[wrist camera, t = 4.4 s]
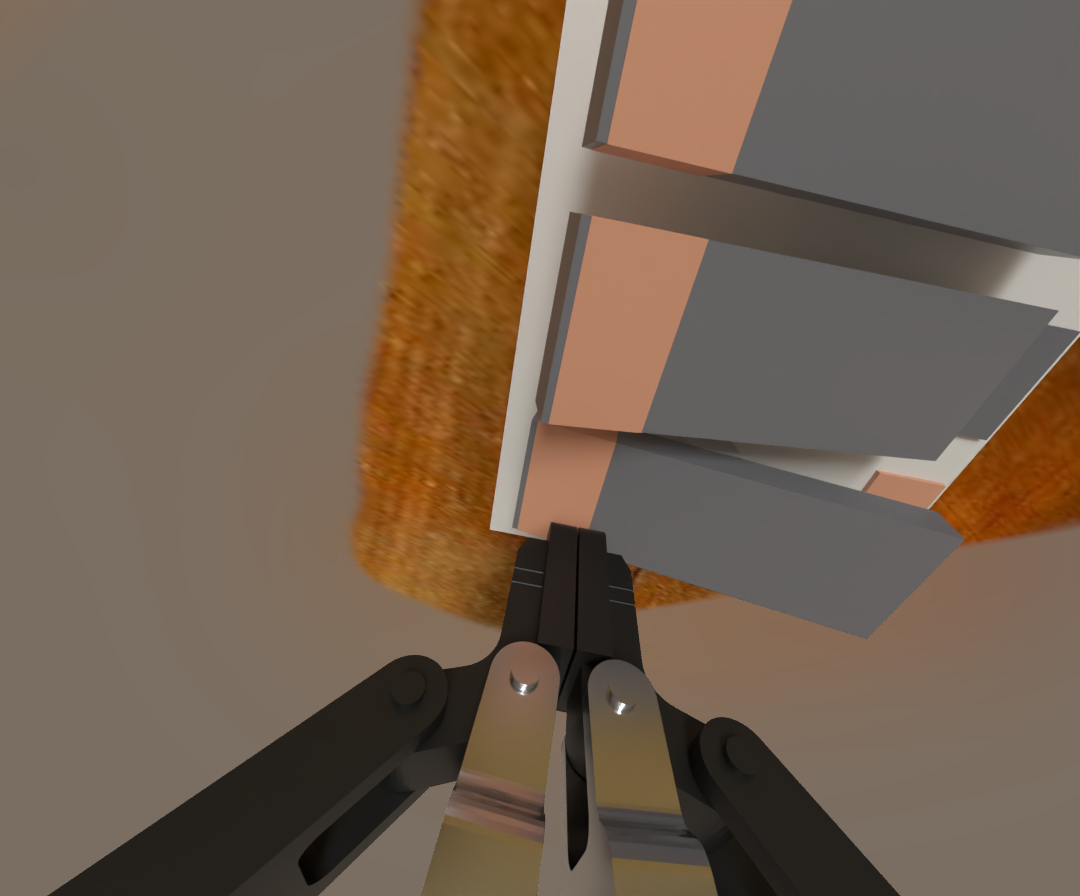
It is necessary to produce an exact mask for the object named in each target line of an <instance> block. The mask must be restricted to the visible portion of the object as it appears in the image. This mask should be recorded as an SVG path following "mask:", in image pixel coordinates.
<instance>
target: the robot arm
mask: <svg viewBox="0 0 1080 896" xmlns="http://www.w3.org/2000/svg"><path fill="white" fill-rule="evenodd" d="M634 605H635V601H634V593H633V585H632V576H631V571H630V569H629V567H628V566H627V564H626V562H625V561H624V559H623V557H622V555H618V554H613V553H608V552H607V545H606V534H605V532H601V531H596V530H591V529H586V528H581V527H578V529H577V527H575V526H570V525H565V524H560V523H555V522H551V523H550V527H549V531H548V535H547V539H546V540H541V539H536V538H531V537H528V539H527V540H526V541H525V542H524V543H523V545H522V546H521V547H520V548H519V549H518V554H517V558H516V563H515V568H514V573H513V578H512V583H511V588H510V593H509V598H508V603H507V608H506V612H505V617H504V622H503V627H502V632H501V636H500V640H499V642H498V644H497V646H496V647H495V649H494V650H493V651H492V652H491V653H490V654H489V655H488V656H487V657H486V658H484V659H483V660H481V661H479V662H477V663H475V664H472V665H468V666H463V667H456V668H449V669H442V668H441V666H440V665H439V664H438V663H437V662H435V661H434V660H432V659H430V658H428V657H425V656H420V655H409V656H404V657H401V658H399V659H396V660H394V661H392V662H391V663H389V664H387V665H386V666H385V667H383V668H381V669H380V670H379V671H377V672H376V673H374V674H373V675H371V676H370V677H368V678H367V679H365V680H364V681H362V682H361V683H359V684H358V685H356V686H355V687H354V688H352V689H351V690H349V691H348V692H346V693H345V694H343V695H342V696H340V697H339V698H337V699H336V700H334V701H333V702H332V703H330V704H329V705H327V706H326V707H324V708H323V709H321V710H320V711H318V712H317V713H316V714H314V715H312V716H311V717H310V718H308V719H307V720H305V721H304V722H302V723H301V724H299V725H298V726H296V727H295V728H293V729H292V730H290V731H289V732H287V733H286V734H284V735H283V736H282V737H280V738H279V739H277V740H276V741H274V742H273V743H271V744H270V745H268V746H267V747H265V748H264V749H262V750H261V751H260V752H258V753H257V754H255V755H254V756H252V757H251V758H249V759H248V760H246V761H245V762H244V763H242V764H241V765H239V766H238V767H236V768H235V769H233V770H232V771H230V772H229V773H227V774H226V775H224V776H223V777H221V778H220V779H218V780H217V781H215V782H214V783H212V784H211V785H210V786H208V787H207V788H205V789H204V790H202V791H201V792H199V793H198V794H196V795H195V796H193V797H192V798H190V799H189V800H188V801H186V802H185V803H183V804H182V805H180V806H179V807H177V808H176V809H174V810H173V811H171V812H170V813H169V814H167V815H166V816H164V817H163V818H161V819H160V820H158V821H157V822H156V823H154V824H152V825H151V826H149V827H148V828H146V829H145V830H143V831H142V832H141V833H139V834H138V835H136V836H135V837H133V838H132V839H130V840H129V841H127V842H126V843H124V844H123V845H121V846H120V847H118V848H117V849H116V850H114V851H113V852H111V853H110V854H108V855H107V856H105V857H104V858H102V859H101V860H99V861H98V862H96V863H95V864H93V865H92V866H91V867H89V868H88V869H86V870H85V871H83V872H82V873H80V874H79V875H77V876H76V877H74V878H73V879H71V880H70V881H69V882H67V883H66V884H64V885H63V886H61V887H60V888H58V889H57V890H55V891H54V892H52V893H51V894H50V895H48V896H318V895H319V894H320V893H321V892H322V891H323V890H324V889H325V888H326V887H327V886H329V884H331V883H332V882H333V881H334V880H335V878H337V877H338V876H339V875H340V874H341V873H342V872H343V871H344V870H345V869H346V868H347V867H348V866H349V865H350V864H351V863H352V862H353V861H354V860H355V859H356V858H357V857H358V856H359V855H360V854H361V853H362V852H363V851H364V850H365V849H367V848H368V847H369V846H370V845H371V844H372V843H373V842H374V841H375V840H376V839H377V838H378V837H379V836H380V835H381V834H382V833H383V832H384V831H385V830H386V829H387V828H388V827H389V826H390V825H391V824H392V823H393V822H394V821H395V820H396V819H397V818H398V817H399V816H400V815H401V814H402V813H404V812H405V811H406V809H408V808H409V807H410V806H411V805H412V804H413V803H414V802H415V801H416V800H417V799H418V798H419V797H420V796H421V795H422V794H423V793H424V792H425V791H426V790H427V789H428V788H429V787H432V786H436V785H440V784H444V783H449V782H453V781H457V782H456V785H455V787H454V789H453V791H452V794H451V797H450V800H449V803H448V806H447V809H446V812H445V816H444V819H443V822H442V825H441V829H440V832H439V835H438V839H437V842H436V845H435V849H434V852H433V855H432V859H431V862H430V866H429V869H428V872H427V876H426V879H425V883H424V886H423V889H422V893H421V896H537V892H538V884H539V875H540V867H541V860H542V851H543V843H544V832H545V814H544V798H545V790H546V783H547V775H548V768H549V760H550V753H551V745H552V738H553V730H554V723H555V715H556V710H557V711H562V712H567V720H566V735H565V737H564V739H563V742H562V746H561V808H562V809H561V810H562V811H561V812H562V877H561V885H560V890H559V896H900V895H899V894H898V893H897V892H896V891H895V889H894V888H893V887H892V886H891V885H890V884H889V883H888V882H887V880H886V879H885V878H884V877H883V876H882V875H881V874H880V873H879V872H878V870H877V869H876V868H875V867H874V866H873V865H872V864H871V863H870V861H869V860H868V859H867V858H866V857H865V856H864V855H863V854H862V852H861V851H860V850H859V849H858V848H857V847H856V846H855V845H854V843H853V842H852V841H851V840H850V839H849V838H848V837H847V836H846V835H845V833H844V832H843V831H842V830H841V829H840V828H839V827H838V826H837V824H836V823H835V822H834V821H833V820H832V819H831V818H830V817H829V815H828V814H827V813H826V812H825V811H824V810H823V809H822V808H821V806H820V805H819V804H818V803H817V802H816V801H815V800H814V799H813V797H811V795H810V794H809V793H808V792H807V791H806V790H805V789H804V787H803V786H802V785H801V784H800V783H799V782H798V781H797V780H796V779H795V777H794V776H793V775H792V774H791V773H790V772H789V771H788V770H787V768H786V767H785V766H784V765H783V764H782V763H781V762H780V761H779V759H778V758H777V757H776V756H775V755H774V754H773V753H772V752H771V750H769V748H768V747H767V746H766V745H765V744H764V743H763V742H762V740H761V739H760V738H759V737H758V736H757V735H756V734H755V733H754V732H753V731H752V730H750V729H749V728H748V727H746V726H745V725H743V724H742V723H740V722H738V721H736V720H733V719H730V718H725V717H719V718H714V719H711V720H710V721H708V722H707V723H706V724H704V723H702V722H700V721H699V720H697V719H695V718H693V717H691V716H690V715H688V714H686V713H684V712H682V711H680V710H679V709H677V708H675V707H673V706H672V705H670V704H669V703H667V702H666V701H665V700H664V699H663V698H662V697H661V696H660V695H659V694H658V693H657V692H656V691H655V690H654V688H653V686H652V684H651V683H650V681H649V679H648V678H647V677H646V675H645V672H644V669H643V665H642V659H641V650H640V643H639V634H638V626H637V617H636V609H635V607H634Z"/></svg>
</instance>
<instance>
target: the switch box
mask: <svg viewBox="0 0 1080 896" xmlns="http://www.w3.org/2000/svg"><path fill="white" fill-rule="evenodd" d="M608 1H609V0H567V2H566V9H565V16H564V23H563V30H562V36H561V43H560V50H559V57H558V64H557V71H556V78H555V85H554V91H553V98H552V105H551V112H550V119H549V126H548V133H547V140H546V146H545V153H544V160H543V167H542V174H541V181H540V188H539V195H538V201H537V208H536V215H535V222H534V229H533V236H532V243H531V250H530V256H529V263H528V270H527V277H526V284H525V291H524V298H523V305H522V311H521V318H520V325H519V332H518V339H517V346H516V353H515V360H514V366H513V373H512V380H511V387H510V394H509V401H508V408H507V415H506V421H505V428H504V435H503V442H502V449H501V456H500V463H499V470H498V476H497V483H496V490H495V497H494V504H493V511H492V518H491V525H490V530H495V531H500V532H505V533H511V534H516V535H521V536H526V537H531V538H536V539H542V540H546V539H545V538H542V537H539V536H535V535H532V534H529V533H526V532H523V531H520V530H517V529H515V528H512V525H513V520H514V514H515V509H516V503H517V498H518V492H519V487H520V481H521V476H522V470H523V465H524V459H525V454H526V449H527V443H528V438H529V432H530V427H531V421H532V419H533V417H534V415H535V414H536V412H537V411H538V410H537V406H536V402H535V399H536V394H537V388H538V383H539V377H540V372H541V366H542V361H543V355H544V350H545V345H546V339H547V334H548V328H549V323H550V317H551V312H552V306H553V301H554V295H555V290H556V285H557V279H558V274H559V268H560V263H561V257H562V252H563V246H564V241H565V235H566V230H567V224H568V219H569V214H570V212H575V213H583V214H588V215H593V216H597V217H602V218H607V219H612V220H617V221H622V222H627V223H632V224H637V225H642V226H647V227H652V228H657V229H662V230H667V231H672V232H677V233H681V234H686V235H691V236H695V237H700V238H705V239H709V240H713V241H718V242H723V243H728V244H733V245H738V246H743V247H748V248H753V249H758V250H763V251H768V252H773V253H778V254H783V255H788V256H793V257H798V258H802V259H807V260H812V261H817V262H822V263H827V264H832V265H837V266H842V267H847V268H852V269H857V270H862V271H867V272H872V273H877V274H882V275H887V276H892V277H896V278H901V279H906V280H911V281H916V282H921V283H926V284H931V285H936V286H941V287H946V288H951V289H956V290H961V291H966V292H971V293H976V294H981V295H986V296H990V297H995V298H1000V299H1005V300H1010V301H1015V302H1020V303H1025V304H1029V305H1034V306H1039V307H1044V308H1049V309H1053V310H1058V313H1057V314H1056V315H1055V316H1054V317H1053V319H1052V320H1051V321H1050V322H1049V324H1048V325H1047V326H1046V327H1045V328H1044V330H1043V331H1042V332H1041V333H1040V335H1039V336H1038V337H1037V338H1036V339H1035V341H1034V342H1033V343H1032V344H1031V345H1030V347H1029V348H1028V349H1027V350H1026V352H1025V353H1024V354H1023V355H1022V356H1021V358H1020V359H1019V360H1018V361H1017V363H1016V364H1015V365H1014V366H1013V367H1012V369H1011V370H1010V371H1009V372H1008V374H1007V375H1006V376H1005V377H1004V378H1003V380H1002V381H1001V382H1000V383H999V385H998V386H997V387H996V388H995V389H994V391H993V392H992V393H991V394H990V396H989V397H988V398H987V399H986V400H985V402H984V403H983V404H982V405H981V407H980V408H979V409H978V410H977V411H976V413H975V414H974V415H973V416H972V417H971V419H970V420H969V421H968V422H967V424H966V425H965V426H964V427H963V428H962V430H961V431H960V432H959V433H958V435H957V436H956V437H955V438H954V439H953V441H952V442H951V443H950V444H949V446H948V447H947V448H946V449H945V450H944V452H943V453H942V454H941V455H940V457H939V458H938V459H937V460H936V461H928V460H918V459H908V458H898V457H887V456H877V455H867V454H857V453H846V452H836V451H826V450H816V449H805V448H795V447H785V446H775V445H764V444H754V443H744V442H734V441H723V440H713V439H703V438H693V437H682V436H672V435H662V434H652V433H648V434H652V435H655V436H659V437H663V438H667V439H670V440H674V441H678V442H681V443H685V444H689V445H692V446H696V447H700V448H703V449H707V450H711V451H715V452H718V453H722V454H726V455H729V456H733V457H737V458H740V459H744V460H748V461H751V462H755V463H759V464H763V465H766V466H770V467H774V468H777V469H781V470H785V471H788V472H792V473H796V474H799V475H803V476H807V477H811V478H814V479H818V480H822V481H825V482H829V483H833V484H836V485H840V486H844V487H847V488H851V489H855V490H859V491H862V492H866V493H870V494H873V495H877V496H881V497H884V498H888V499H892V500H895V501H899V502H903V503H907V504H910V505H914V506H918V507H921V508H925V509H929V508H930V507H931V506H932V505H933V504H934V503H935V501H936V500H937V499H938V498H939V497H940V496H941V495H942V493H943V492H944V491H945V490H946V489H947V488H948V486H949V485H950V484H951V483H952V482H953V481H954V480H955V478H956V477H957V476H958V475H959V474H960V473H961V472H962V470H963V469H964V468H965V467H966V466H967V465H968V464H969V462H970V461H971V460H972V459H973V458H974V457H975V456H976V454H977V453H978V452H979V451H980V450H981V449H982V448H983V446H984V445H985V444H986V443H987V442H988V441H989V440H990V438H991V437H992V436H993V435H994V434H995V433H996V432H997V430H998V429H999V428H1000V427H1001V426H1002V425H1003V424H1004V422H1005V421H1006V420H1007V419H1008V418H1009V417H1010V416H1011V414H1012V413H1013V412H1014V411H1015V410H1016V409H1017V407H1018V406H1019V405H1020V404H1021V403H1022V402H1023V401H1024V399H1025V398H1026V397H1027V396H1028V395H1029V394H1030V393H1031V391H1032V390H1033V389H1034V388H1035V387H1036V386H1037V385H1038V383H1039V382H1040V381H1041V380H1042V379H1043V378H1044V377H1045V375H1046V374H1047V373H1048V372H1049V371H1050V370H1051V369H1052V367H1053V366H1054V365H1055V364H1056V363H1057V362H1058V361H1059V359H1060V358H1061V357H1062V356H1063V355H1064V354H1065V353H1066V351H1067V350H1068V349H1069V348H1070V347H1071V346H1072V345H1073V343H1074V342H1075V341H1076V340H1077V339H1078V338H1079V337H1080V259H1074V258H1065V257H1056V256H1048V255H1039V254H1034V253H1030V252H1026V251H1022V250H1017V249H1013V248H1009V247H1005V246H1000V245H996V244H992V243H988V242H983V241H979V240H975V239H971V238H966V237H962V236H958V235H954V234H949V233H945V232H941V231H936V230H932V229H928V228H924V227H919V226H915V225H911V224H907V223H902V222H898V221H894V220H890V219H885V218H881V217H877V216H873V215H868V214H864V213H860V212H856V211H851V210H847V209H843V208H839V207H834V206H830V205H826V204H822V203H817V202H813V201H809V200H805V199H800V198H796V197H792V196H787V195H783V194H779V193H775V192H770V191H766V190H762V189H758V188H753V187H749V186H745V185H741V184H736V183H732V182H728V181H724V180H719V179H715V178H711V177H707V176H699V175H695V174H691V173H686V172H682V171H678V170H674V169H669V168H665V167H661V166H657V165H652V164H648V163H644V162H639V161H635V160H631V159H627V158H622V157H618V156H614V155H610V154H605V153H601V152H597V151H593V150H591V149H587V148H583V147H582V143H583V137H584V132H585V126H586V121H587V115H588V110H589V104H590V99H591V93H592V88H593V83H594V77H595V72H596V66H597V61H598V55H599V50H600V44H601V39H602V33H603V28H604V22H605V17H606V12H607V6H608Z"/></svg>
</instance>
